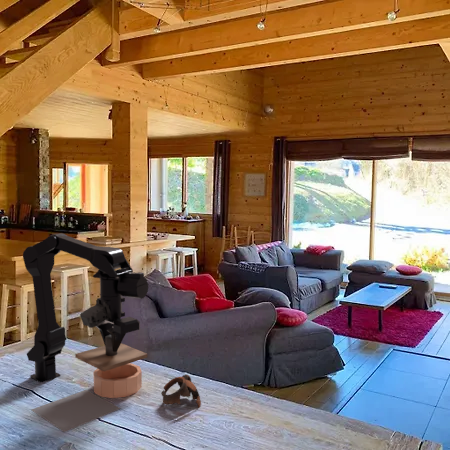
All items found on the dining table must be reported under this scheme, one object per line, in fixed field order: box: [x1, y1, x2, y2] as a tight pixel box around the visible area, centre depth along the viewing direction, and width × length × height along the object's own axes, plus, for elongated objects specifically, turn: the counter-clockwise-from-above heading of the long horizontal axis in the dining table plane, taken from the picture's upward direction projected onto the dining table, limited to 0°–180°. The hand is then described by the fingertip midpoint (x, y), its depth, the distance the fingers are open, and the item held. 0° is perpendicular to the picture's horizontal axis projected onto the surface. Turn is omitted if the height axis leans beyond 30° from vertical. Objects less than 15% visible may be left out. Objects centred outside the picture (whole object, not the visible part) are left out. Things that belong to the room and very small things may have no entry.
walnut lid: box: [74, 335, 148, 371], centre depth 134 cm, size 14×14×6 cm
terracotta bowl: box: [92, 362, 143, 399], centre depth 137 cm, size 13×13×5 cm
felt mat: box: [31, 389, 122, 433], centre depth 124 cm, size 16×16×1 cm
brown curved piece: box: [161, 374, 202, 408], centre depth 129 cm, size 12×10×8 cm
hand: (111, 349), depth 134 cm, fingers closed on walnut lid, 3 cm apart
